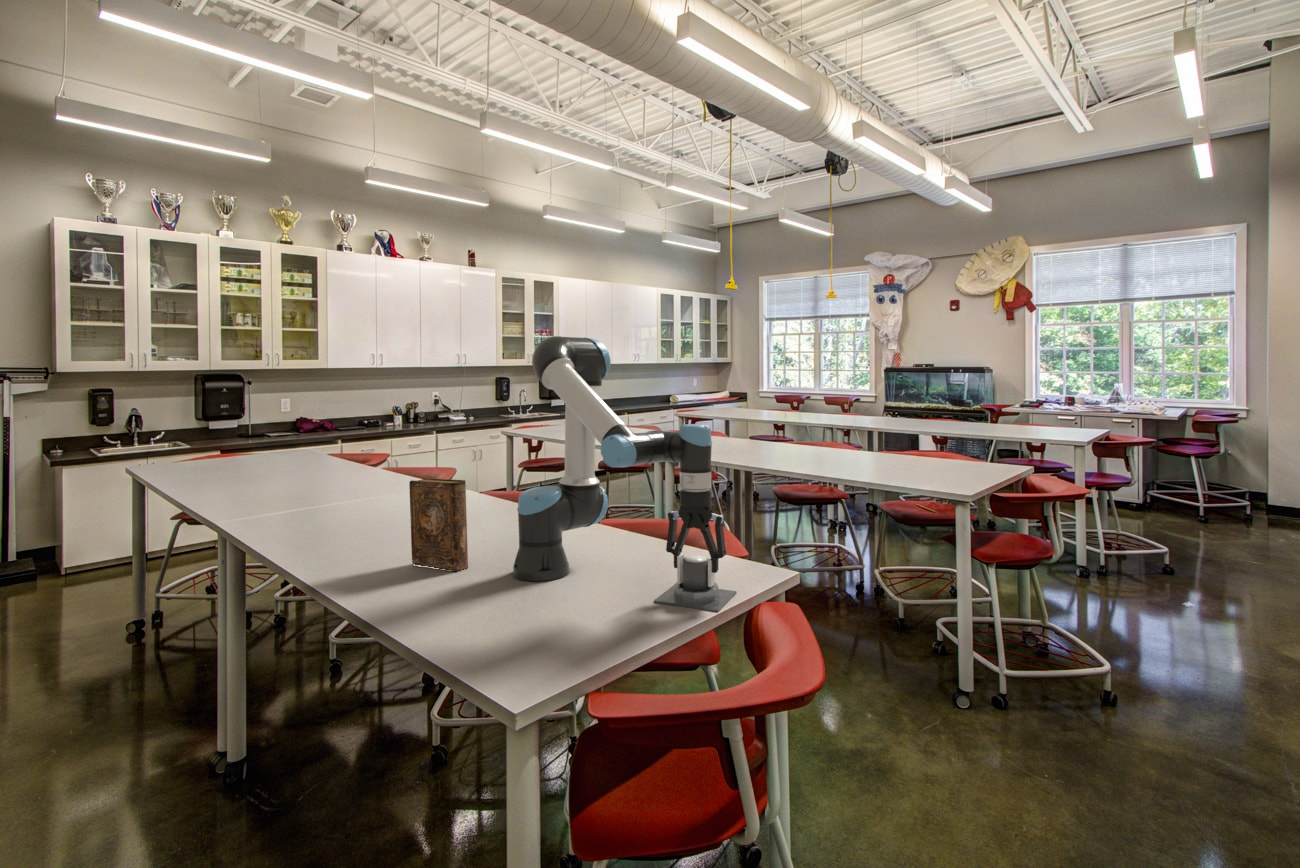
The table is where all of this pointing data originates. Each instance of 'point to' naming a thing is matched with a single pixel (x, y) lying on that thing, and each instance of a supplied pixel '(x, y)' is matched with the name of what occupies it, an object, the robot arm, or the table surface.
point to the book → (439, 523)
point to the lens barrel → (695, 573)
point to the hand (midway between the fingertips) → (695, 583)
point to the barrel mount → (696, 597)
